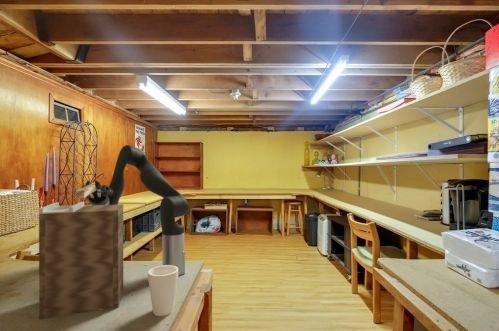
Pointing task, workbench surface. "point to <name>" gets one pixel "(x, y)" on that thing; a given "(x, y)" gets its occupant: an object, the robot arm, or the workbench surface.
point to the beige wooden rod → (86, 190)
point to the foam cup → (163, 288)
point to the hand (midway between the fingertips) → (92, 183)
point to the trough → (60, 208)
